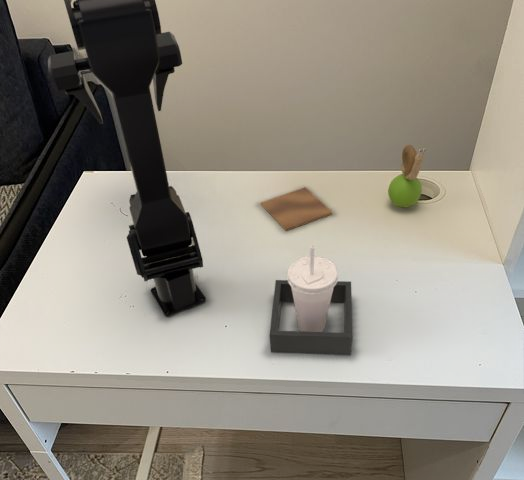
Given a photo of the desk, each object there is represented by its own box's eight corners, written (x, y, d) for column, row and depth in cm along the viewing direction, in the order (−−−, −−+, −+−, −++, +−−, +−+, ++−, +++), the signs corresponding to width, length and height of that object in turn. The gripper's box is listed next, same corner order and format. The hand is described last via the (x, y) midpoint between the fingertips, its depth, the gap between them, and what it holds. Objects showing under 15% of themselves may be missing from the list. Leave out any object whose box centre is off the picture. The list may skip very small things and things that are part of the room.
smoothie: (282, 336, 75) (279, 256, 64) (296, 305, 79) (295, 224, 68) (328, 346, 73) (332, 265, 63) (339, 313, 77) (345, 232, 67)
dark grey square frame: (349, 299, 79) (351, 281, 76) (350, 355, 72) (352, 337, 69) (276, 297, 80) (275, 279, 77) (270, 352, 73) (269, 334, 70)
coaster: (332, 214, 93) (332, 212, 92) (286, 231, 90) (286, 229, 90) (305, 189, 98) (305, 187, 98) (260, 204, 96) (260, 202, 95)
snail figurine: (395, 219, 91) (405, 152, 82) (381, 198, 95) (390, 132, 86) (426, 214, 91) (440, 146, 82) (411, 193, 95) (423, 127, 86)
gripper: (158, -27, 80) (179, 80, 92) (29, -2, 77) (68, 103, 90) (171, 2, 73) (192, 113, 85) (31, 29, 71) (72, 139, 83)
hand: (130, 116), depth 86 cm, fingers open, 9 cm apart
